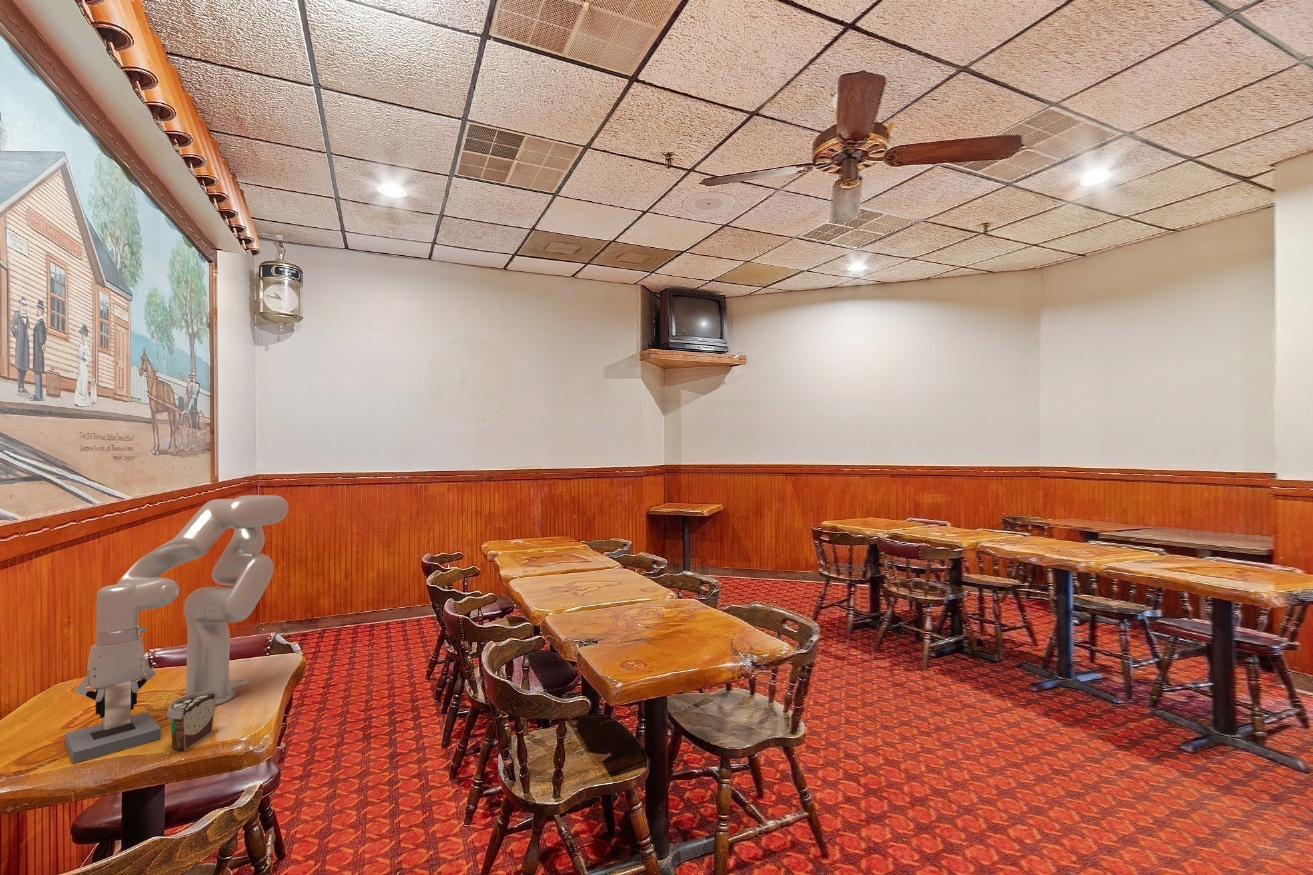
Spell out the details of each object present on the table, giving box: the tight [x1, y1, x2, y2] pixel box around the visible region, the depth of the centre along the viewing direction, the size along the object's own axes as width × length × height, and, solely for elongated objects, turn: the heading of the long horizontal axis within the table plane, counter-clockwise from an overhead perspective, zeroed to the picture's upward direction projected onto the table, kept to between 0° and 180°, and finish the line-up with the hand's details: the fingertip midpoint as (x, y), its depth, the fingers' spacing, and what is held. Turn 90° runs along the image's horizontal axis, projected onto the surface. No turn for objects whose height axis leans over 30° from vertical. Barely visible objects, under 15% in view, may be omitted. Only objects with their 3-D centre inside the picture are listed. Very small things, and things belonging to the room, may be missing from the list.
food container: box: [166, 690, 217, 752], centre depth 139 cm, size 12×6×10 cm, turn 5°
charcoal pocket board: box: [64, 711, 162, 765], centre depth 139 cm, size 15×15×2 cm
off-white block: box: [101, 681, 132, 730], centre depth 140 cm, size 4×4×10 cm
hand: (116, 711), depth 140 cm, fingers closed on off-white block, 4 cm apart
